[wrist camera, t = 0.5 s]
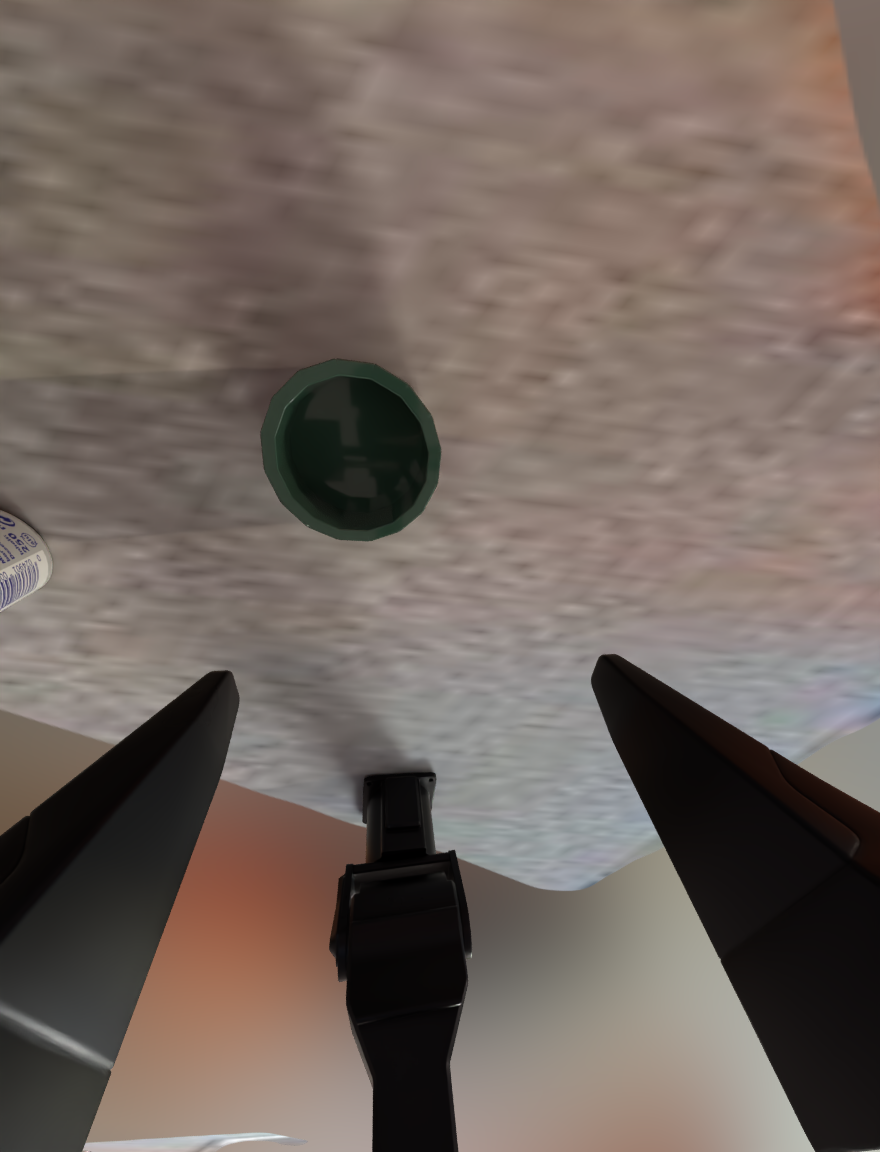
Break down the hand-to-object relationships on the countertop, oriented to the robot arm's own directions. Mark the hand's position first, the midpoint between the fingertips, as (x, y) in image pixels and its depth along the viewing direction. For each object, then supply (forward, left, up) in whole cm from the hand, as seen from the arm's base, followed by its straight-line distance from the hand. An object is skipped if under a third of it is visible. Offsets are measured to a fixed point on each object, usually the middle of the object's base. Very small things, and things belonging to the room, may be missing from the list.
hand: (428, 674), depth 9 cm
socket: (+3, +2, -15) cm, 15 cm away
